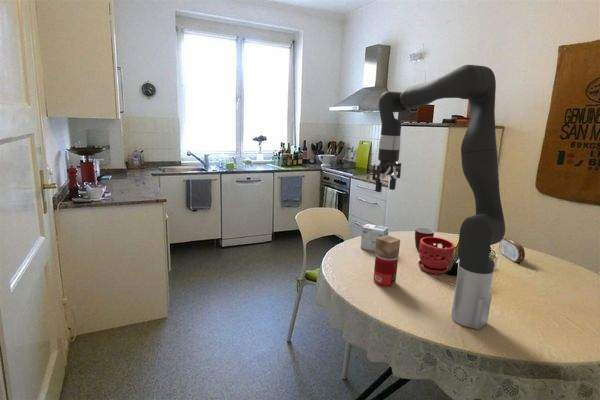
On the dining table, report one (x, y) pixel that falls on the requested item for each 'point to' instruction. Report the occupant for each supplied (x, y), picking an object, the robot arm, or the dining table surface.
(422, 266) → the plant pot
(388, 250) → the walnut block
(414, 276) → the dining table surface
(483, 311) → the robot arm
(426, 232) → the mug
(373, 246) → the light bulb box
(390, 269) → the canned food
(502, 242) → the tin
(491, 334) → the dining table surface
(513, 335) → the dining table surface
